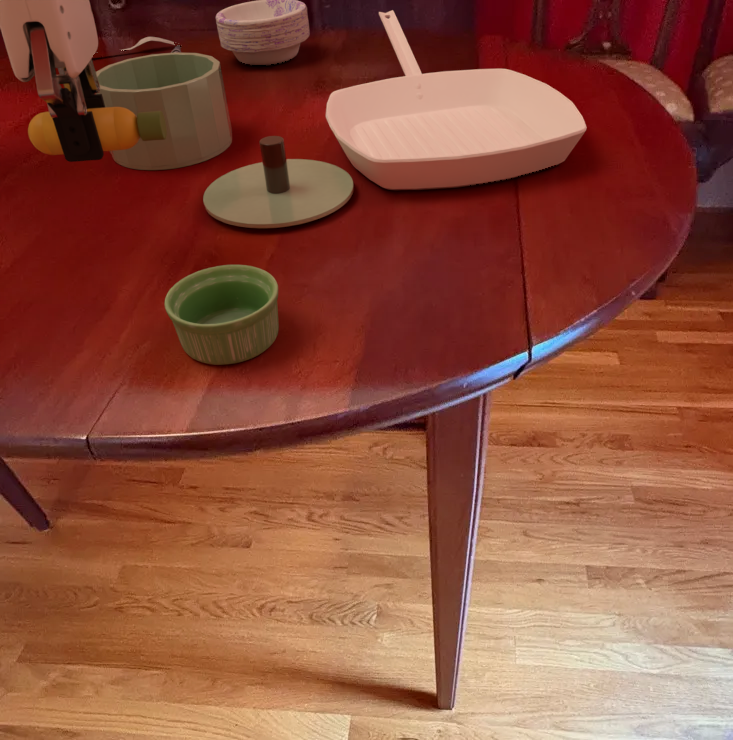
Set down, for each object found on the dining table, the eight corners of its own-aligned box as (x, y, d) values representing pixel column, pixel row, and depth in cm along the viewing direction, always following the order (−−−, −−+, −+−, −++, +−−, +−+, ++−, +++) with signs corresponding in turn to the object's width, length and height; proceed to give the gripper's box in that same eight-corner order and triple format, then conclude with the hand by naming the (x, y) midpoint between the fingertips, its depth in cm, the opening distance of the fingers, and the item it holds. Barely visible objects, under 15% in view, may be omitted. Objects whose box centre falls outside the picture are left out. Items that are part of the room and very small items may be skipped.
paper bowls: (205, 65, 123) (195, 14, 118) (266, 42, 133) (259, -6, 128) (269, 77, 116) (262, 23, 111) (330, 52, 125) (325, 2, 120)
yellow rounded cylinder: (31, 163, 63) (16, 122, 61) (41, 147, 66) (28, 107, 63) (165, 152, 63) (156, 111, 61) (170, 137, 66) (161, 97, 64)
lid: (198, 240, 74) (184, 179, 70) (210, 174, 87) (199, 120, 83) (360, 225, 74) (356, 163, 70) (348, 161, 87) (344, 106, 83)
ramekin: (299, 312, 62) (293, 268, 60) (261, 377, 56) (252, 331, 53) (204, 303, 64) (194, 259, 62) (157, 364, 58) (143, 319, 55)
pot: (101, 175, 88) (77, 96, 82) (123, 130, 101) (103, 58, 95) (229, 163, 89) (214, 84, 83) (235, 119, 101) (222, 48, 95)
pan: (358, 213, 76) (352, 124, 70) (296, 88, 111) (288, 21, 105) (613, 173, 80) (627, 86, 74) (476, 64, 115) (478, -1, 109)
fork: (70, 74, 132) (63, 58, 130) (180, 44, 135) (175, 28, 133) (70, 78, 130) (63, 62, 128) (182, 48, 133) (177, 32, 131)
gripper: (1, -103, 59) (69, 120, 71) (-76, -73, 46) (22, 193, 58) (94, -109, 60) (146, 114, 71) (43, -80, 47) (117, 186, 58)
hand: (90, 147), depth 64 cm, fingers closed on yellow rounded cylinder, 3 cm apart
